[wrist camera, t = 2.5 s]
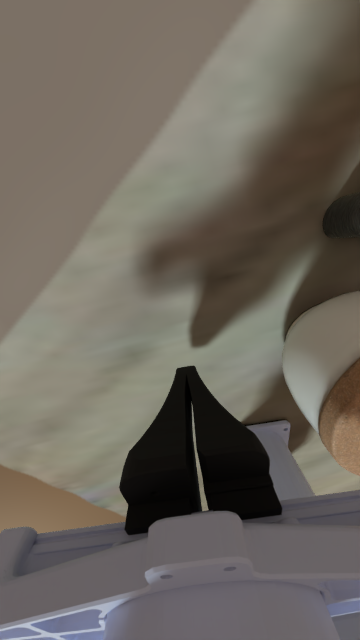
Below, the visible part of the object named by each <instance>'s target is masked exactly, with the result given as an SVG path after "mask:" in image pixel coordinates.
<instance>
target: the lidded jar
mask: <svg viewBox="0 0 360 640" xmlns="http://www.w3.org/2000/svg"><path fill="white" fill-rule="evenodd" d="M282 369H283V373H284V377H285V381H286V384H287V386H288V388H289V390H290V392H291V394H292V396H293V398H294V400H295V402H296V403H297V405H298V407H299V408H300V410H301V412H302V413H303V414H304V416H305V417H306V419H307V420H308V421H309V423H310V424H311V425H312V427H313V428H314V429H315V431H316V432H317V433H318V434H319V436H320V438H321V440H322V442H323V444H324V446H325V447H326V448H327V450H328V451H329V452H330V454H331V455H332V456H333V458H334V459H335V460H336V461H337V462H338V463H339V465H341V466H342V467H343V468H345V469H346V470H348V471H350V472H352V473H354V474H356V475H359V476H360V290H359V291H355V292H350V293H346V294H343V295H340V296H337V297H334V298H331V299H329V300H327V301H325V302H323V303H321V304H319V305H317V306H314V307H312V308H310V309H308V310H307V311H305V312H304V313H303V314H301V315H300V316H299V317H298V318H297V319H296V320H295V321H294V322H293V324H292V325H291V327H290V328H289V330H288V332H287V335H286V339H285V344H284V347H283V352H282Z"/></svg>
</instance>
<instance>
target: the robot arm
mask: <svg viewBox="0 0 360 640" xmlns="http://www.w3.org/2000/svg"><path fill="white" fill-rule="evenodd" d="M191 401H192V404H191ZM192 405H193V413H194V423H195V434H196V446H197V453H198V458H199V462H200V467H201V472H202V477H203V484H204V492H205V496H206V500H207V505H208V509H209V511H202V507H201V499H200V491H199V483H198V475H197V467H196V459H195V451H194V442H193V432H192ZM290 426H291V425H290V423H289V422H288V421H286V420H283V421H277V422H270V423H264V424H257V425H250V426H244V425H243V424H242V423H241V422H239V421H238V420H237V419H236V418H234V417H233V416H232V415H231V414H230V413H229V412H228V411H227V410H226V409H225V408H224V407H223V406H222V405H221V404H220V403H219V402H218V401H217V400H216V399H215V398H214V396H213V395H212V394H211V393H210V391H209V390H208V389H207V387H206V386H205V384H204V383H203V381H202V380H201V378H200V376H199V375H198V373H197V370H196V368H195V366H187V367H181V368H177V370H176V374H175V378H174V381H173V384H172V387H171V389H170V392H169V394H168V396H167V398H166V400H165V402H164V404H163V406H162V408H161V410H160V412H159V413H158V415H157V416H156V418H155V420H154V421H153V423H152V424H151V425H150V427H149V428H148V429H147V431H146V432H145V433H144V435H143V436H142V437H141V439H140V440H139V441H138V442H137V443H136V444H135V445H134V447H133V448H132V449H131V450H130V451H129V453H128V456H127V459H126V462H125V465H124V468H123V472H122V477H121V481H120V487H119V488H120V491H121V493H122V495H123V497H124V498H125V500H126V502H127V503H128V511H127V517H126V522H121V523H114V524H106V525H100V526H92V527H85V528H77V529H70V530H62V531H55V532H48V533H40V534H37V532H36V531H35V530H34V529H33V528H31V527H18V528H12V529H4V530H3V531H2V532H1V533H0V640H360V490H355V491H348V492H341V493H333V494H326V495H319V496H315V494H314V492H313V490H312V489H311V487H310V485H309V483H308V482H307V480H306V478H305V476H304V475H303V473H302V471H301V469H300V468H299V466H298V464H297V462H296V461H295V459H294V457H293V456H292V454H291V452H290V450H289V449H288V441H289V433H290Z"/></svg>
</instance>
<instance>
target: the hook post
mask: <svg viewBox="0 0 360 640" xmlns="http://www.w3.org/2000/svg"><path fill="white" fill-rule="evenodd" d="M323 229H324V232H325V233H326V235H327V236H329V237H331V238H347V237H360V192H359V193H355V194H352V195H348V196H345V197H342V198H340V199H338V200H336V201H335V202H334V203H333V204H332V205H331V206H330V207H329V208H328V210H327V212H326V214H325V216H324V220H323Z"/></svg>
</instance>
